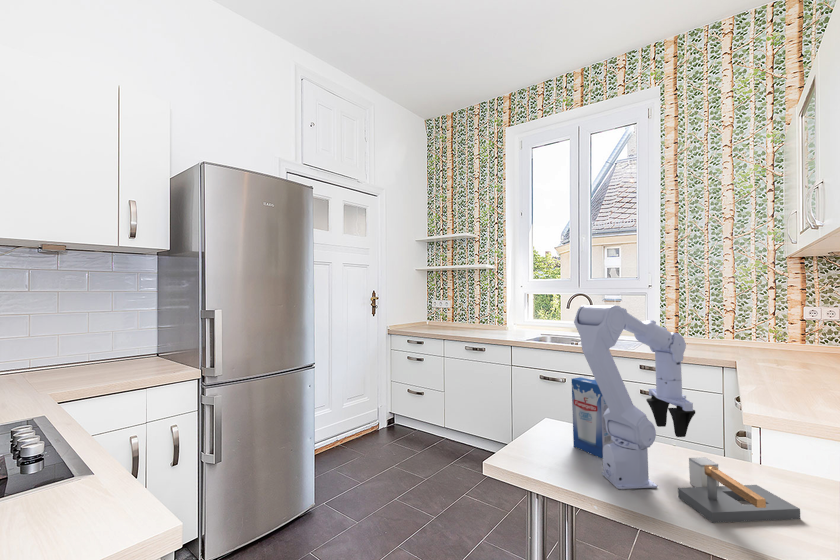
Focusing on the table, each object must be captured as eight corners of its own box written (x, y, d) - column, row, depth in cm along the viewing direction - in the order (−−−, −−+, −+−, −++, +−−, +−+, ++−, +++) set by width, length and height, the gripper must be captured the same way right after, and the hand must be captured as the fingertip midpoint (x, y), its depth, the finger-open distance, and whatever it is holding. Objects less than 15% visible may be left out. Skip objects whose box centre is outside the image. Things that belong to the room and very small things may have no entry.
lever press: (712, 522, 80) (711, 487, 80) (678, 496, 90) (677, 465, 90) (800, 518, 80) (798, 484, 80) (756, 493, 90) (755, 463, 90)
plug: (702, 491, 92) (701, 465, 92) (689, 483, 96) (688, 457, 96) (719, 491, 92) (718, 464, 92) (706, 482, 96) (705, 457, 96)
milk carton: (573, 446, 119) (571, 378, 120) (588, 442, 122) (585, 376, 123) (602, 458, 111) (599, 385, 111) (617, 454, 113) (614, 382, 114)
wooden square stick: (701, 472, 86) (701, 464, 86) (713, 471, 86) (713, 464, 86) (754, 507, 72) (754, 499, 72) (768, 507, 72) (768, 499, 72)
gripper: (704, 384, 97) (706, 441, 97) (665, 372, 112) (667, 421, 112) (675, 385, 97) (677, 442, 97) (640, 372, 112) (642, 422, 111)
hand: (670, 431), depth 104 cm, fingers open, 7 cm apart
